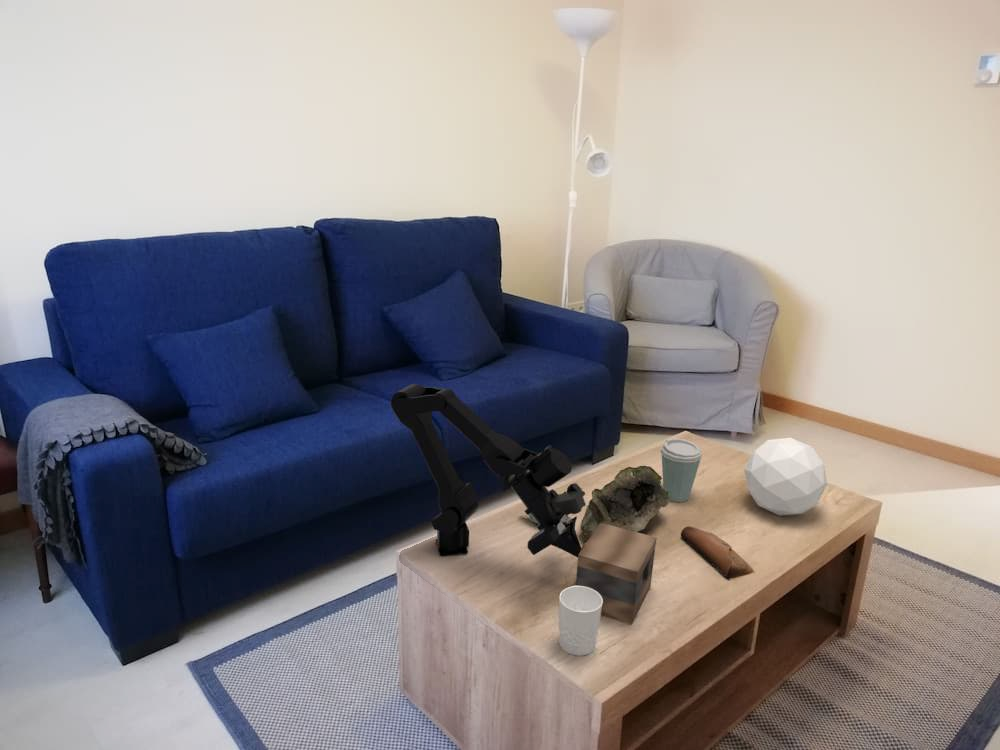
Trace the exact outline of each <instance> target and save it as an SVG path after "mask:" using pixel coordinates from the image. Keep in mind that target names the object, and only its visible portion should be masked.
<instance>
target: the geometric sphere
mask: <svg viewBox="0 0 1000 750" xmlns="http://www.w3.org/2000/svg"><path fill="white" fill-rule="evenodd" d="M824 464H825V463H824V462H823V460H822V458H820V456H819V455H818V454H817V452H816V450H815V449H814V448H813V446H811V445H810V444H806V443H804V442H801V441H800V440H797V439H794V438H793V437H784V438H776V439H775V438H773V439H767V440H766V441H764V442H763V443H762V444H761V445H760V446H758V448H756V449H755V450H754V451H753V452H752V454H751V456H750V457H749V459H748V460H747V463H746V465H745V467H744V469H743V472H744V475H745V480H746V485H747V488H748V492H749V493H750V495H751V497H752V498H753V500H754V501H755V503H756V505H757V506H759V507H761V508H762V509H764V510H766V511H768V512H770V513H772V514H775V515H777V516H779V517H782V516H794V515H803V514H804V513H806V512H808V511H809V510H810V509H812V508H814V506H816V505H818V504H819V501H820V500H821V498H822V495H823V494H824V492H825V489H826V487H827V486H828V480H827V474H826V470H825V465H824Z"/></svg>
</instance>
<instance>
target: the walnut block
mask: <svg viewBox="0 0 1000 750" xmlns="http://www.w3.org/2000/svg"><path fill="white" fill-rule="evenodd" d="M585 543H586V545H585V546H584V547H583V549H582V550H581V552H580V553H579V555H578V558H577V563H578V564H577V565H576V577H575V586H585V587H589V588H591V589H593V590H595V591H597V592H598V593H599V594H600V595H601V597H602V599H603V604H602V610H601V616H603V617H605V618H609V619H612V620H615V621H619V622H622V623H625V624H629V625H630V626H632V625H633V624H634V622H635V620H636V618H637V616H638V614H639V612H640V610H641V607H642V605H643V604H644V601H645V599H646V597H647V595H648V593H649V591H650V589H651V586H652V578H653V569H654V560H655V553H656V545H657V537H656V536H652V535H649V534H648V535H647V534H644V533H641V532H639V531H637V532H634V531H630V530H626V529H622V528H619V527H615V526H611V525H607V524H603V523H600V524H599V526H598V527H597V529H596V530H595V532H594V533H593V534H592V536H591V537H590V539H589V540H588V542H585Z"/></svg>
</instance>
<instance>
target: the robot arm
mask: <svg viewBox="0 0 1000 750" xmlns="http://www.w3.org/2000/svg"><path fill="white" fill-rule="evenodd" d="M390 400H391V401H390V406H391V410H392V411H393V413H394V414H395V416H396V418H397V419H398V421H399V422H400V423H401V424H403V425H404V427H407V428H408V429H409V430H410V431H411V433H412V435H413V436H414V439H415V441H416V444H417V446H418V448H419V449H420V452H421V453H422V456H423V458H424V460H425V463H426V464H427V467H428V470H429V471H430V473H431V475H432V477H433V479H434V482H435V485H436V487H437V488H438V506H439V509H440V513H439V514H438V515H437V516H435V517H434V518H433V519H432V520H431V525H432V527H433V530H434V531H437V533H436V539H435V544H436V548H437V553H438V555H439V557H446V556H456V555H467V554H469V550H468V547H470V529H469V526H468V525H467V521H468V520H469V519H470V518H471V517H472V516H473V515H474V514H475V513H476V512H477V511H478V508H479V497H480V496H479V495H478V494H477V493H476V491H475V488H474V486H473V483H472V482H468V483H465V482H464V481H462V480H461V479H460V478H459V476H458V474H457V472H456V470H455V468H454V466H453V462H452V461H451V459H450V457H449V455H448V453H447V450H446V449H445V447H444V444H443V442H442V439H441V438H440V436H439V433H438V431H437V429H436V427H435V425H434V423H433V420H432V419H433V418H432V417H433V412H439V413H440V414H441V415H442V416H443V417H444V418H445V419H446V420H447V421H448V422H449V423H451V424H452V426H454V427H455V428H456V429H457V431H459V432H460V433H461V434H463V436H464V437H466V439H467V440H468V441H470V442H471V443H472V444H473V445H474V446H476V448H477V449H478V450H479V452H480V455H481V457H482V460H483V462H484V463H485V464H486V465H487V466H488V468H489V469H490V470H491V472H492V473H493V474H494V475H495V476H497V477H500V478H501V477H503V478H502V481H503V483H502V489H501V491H502V492H506V491H507V490H509V489H510V488H512V490H513V492H514V493H515V494H516V495H517V497H518V498H519V499H520V501H521V502H522V503H523V505H524V504H525V505H524V506H525V508H526V507H527V508H526V509H525V510H524V513H525V514H526V516H529V514H530V513H531V514H532V515H533V516H534V518H535V519H536V520H537V522H538V523H537V526H536V529H537V530H538V531H537V532H535V533H534V534H533V535H532V536H531V538H530V539H528V541H527V545H526V546H527V547H526V548H527V549H528V551H530V554H532V555H533V556H535V555H536V554H538V553H540V552H541V551H543V550H545V549H546V548H548V547H550V546H553V547H556V548H558V549H559V550H563V551H565V552H566V553H568V554H569V555H572V556H573V557H576V558H577V559H578V555H579V553H580V551H581V548H582V546H581V543H580V539H579V538H578V535H577V531H576V528H575V527H576V524H577V523H576V522H577V520H578V516H576V515H577V514H579V513H581V512H582V510H583V508H584V507H585V506H586V501H585V499H584V496H585V495H586V492H585V491H583V489H582V488H581V487H580V486H579V484H577V482H574V483H570V484H569V485H568V486H567V489H566V491H564V492H562V493H558V492H557V491H556V490H554V489H550V490H549V489H548V488H549V487H552V486H553V485H554V484H555V483H557V482H559V481H560V480H563V478H565V477H566V476H569V474H571V472H572V469H573V468H572V464H571V461H570V459H569V457H568V456H567V455H566V454H565V453H563V451H561V450H560V449H559V450H558V449H555V448H554V447H553V446H552V445H551V444H550V445H548V446H547V447H546V448H544V450H542V452H540V453H538V452H535V451H532V450H529V449H528V448H524V447H522V445H520V444H519V443H518V442H516V441H515V440H513V439H512V438H510V437H509V436H507V435H504V434H501V433H499V432H497V431H495V430H493V428H491V427H490V426H489V425H488V424H487V423H486V422H485V421H484V420H483V419H482V418H480V417H479V415H477V414H476V412H474V411H473V410H471V408H469V407H468V406H467V405H466V404H465V403H464V402H463V401H462V400H461V399H460V398H458V396H456V393H455V391H454V390H452V389H450V388H439V387H435V386H423V385H420V384H419V383H418V384H417V383H413V384H410V385H408V386H406V387H404V388H403V389H401V390H399V391H397V392H396V393H394V394H392V397H391V399H390ZM569 515H575V516H574V517H570V516H569Z"/></svg>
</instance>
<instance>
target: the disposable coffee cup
mask: <svg viewBox="0 0 1000 750" xmlns="http://www.w3.org/2000/svg"><path fill="white" fill-rule="evenodd" d="M659 452H660V454H661V466H662V467H661V468H662V472H661V473H662V487H663V489H664V490H665V492H667V491H668V496H669V500H668V501H671V502H674V503H682V502H683V503H684V502H686V501H688V499H690V496H691V493H692V489H693V485H694V483H695V479H696V475H697V472H698V471H699V470H698V469H699V466H700V462H701V460H702V458H703V450H702V449H701V448H700V447H699V446H698V445H697V443H695V442H692V441H690V440H688V439H683V438H679V437H673V438H672V437H671V438H668V439H665V440H664V441H663V444H662V446H661V447H660V451H659Z"/></svg>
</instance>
